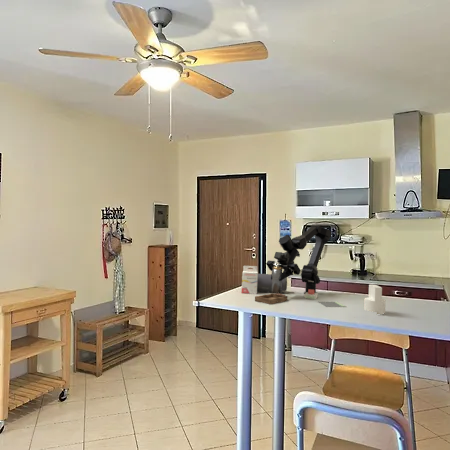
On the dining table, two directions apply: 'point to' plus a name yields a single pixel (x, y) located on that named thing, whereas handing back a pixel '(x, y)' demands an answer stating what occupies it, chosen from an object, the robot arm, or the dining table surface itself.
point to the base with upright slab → (375, 300)
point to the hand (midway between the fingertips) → (275, 279)
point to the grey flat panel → (332, 304)
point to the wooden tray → (271, 298)
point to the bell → (276, 279)
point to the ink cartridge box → (249, 279)
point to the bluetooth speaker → (268, 283)
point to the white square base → (311, 295)
